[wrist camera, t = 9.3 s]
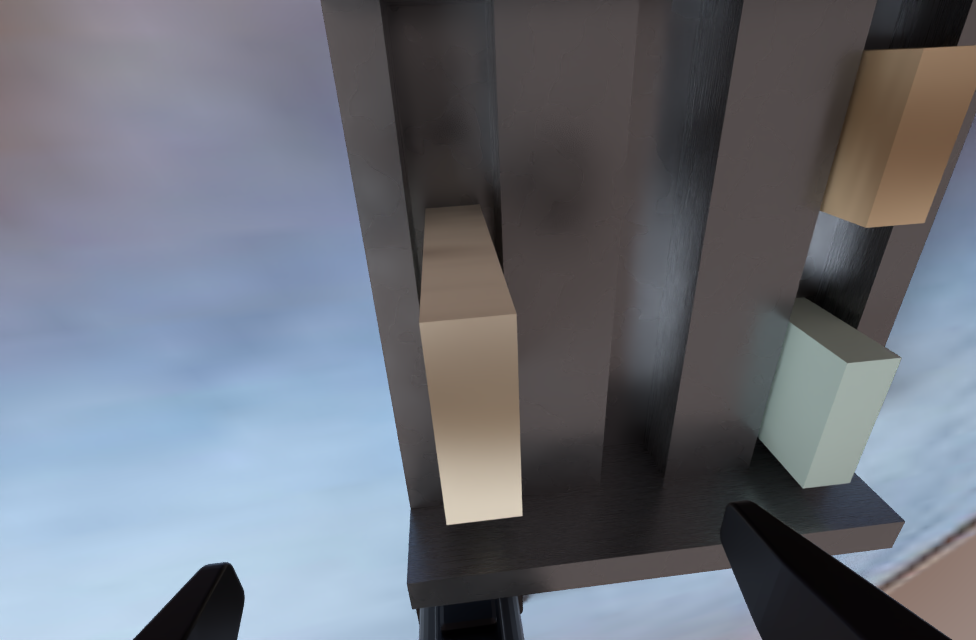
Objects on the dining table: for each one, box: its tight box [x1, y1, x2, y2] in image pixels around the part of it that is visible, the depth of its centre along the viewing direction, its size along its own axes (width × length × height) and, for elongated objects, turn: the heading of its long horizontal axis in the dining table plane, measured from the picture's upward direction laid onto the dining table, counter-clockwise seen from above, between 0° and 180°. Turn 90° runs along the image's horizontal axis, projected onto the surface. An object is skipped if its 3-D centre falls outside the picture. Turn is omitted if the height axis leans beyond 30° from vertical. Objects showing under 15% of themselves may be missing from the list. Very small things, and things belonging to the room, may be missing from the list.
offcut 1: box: [820, 45, 976, 228], centre depth 16 cm, size 5×2×4 cm, turn 3°
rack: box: [321, 0, 976, 609], centre depth 18 cm, size 22×20×7 cm
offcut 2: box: [758, 297, 902, 489], centre depth 20 cm, size 6×2×5 cm, turn 3°
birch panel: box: [419, 204, 522, 525], centre depth 15 cm, size 6×2×9 cm, turn 3°
